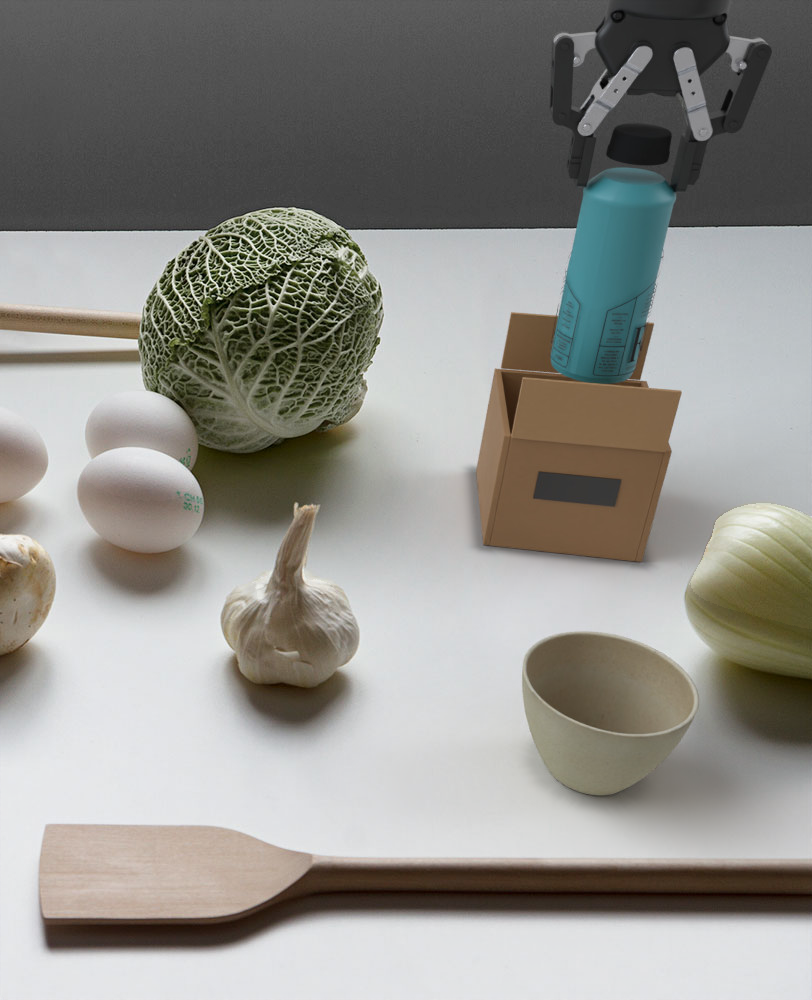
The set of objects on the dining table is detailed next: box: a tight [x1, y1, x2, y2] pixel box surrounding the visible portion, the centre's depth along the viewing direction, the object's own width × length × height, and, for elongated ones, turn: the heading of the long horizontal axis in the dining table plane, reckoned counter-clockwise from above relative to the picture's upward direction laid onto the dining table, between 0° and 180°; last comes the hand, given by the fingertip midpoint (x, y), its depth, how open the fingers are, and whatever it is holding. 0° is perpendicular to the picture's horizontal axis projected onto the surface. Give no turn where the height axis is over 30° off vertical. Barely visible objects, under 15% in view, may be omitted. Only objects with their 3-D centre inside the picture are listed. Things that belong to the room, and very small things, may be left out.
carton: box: [475, 311, 682, 563], centre depth 104 cm, size 12×13×15 cm
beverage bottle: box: [549, 122, 677, 384], centre depth 96 cm, size 6×7×20 cm
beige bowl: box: [521, 630, 700, 796], centre depth 80 cm, size 10×10×7 cm
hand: (628, 185), depth 93 cm, fingers closed on beverage bottle, 6 cm apart
